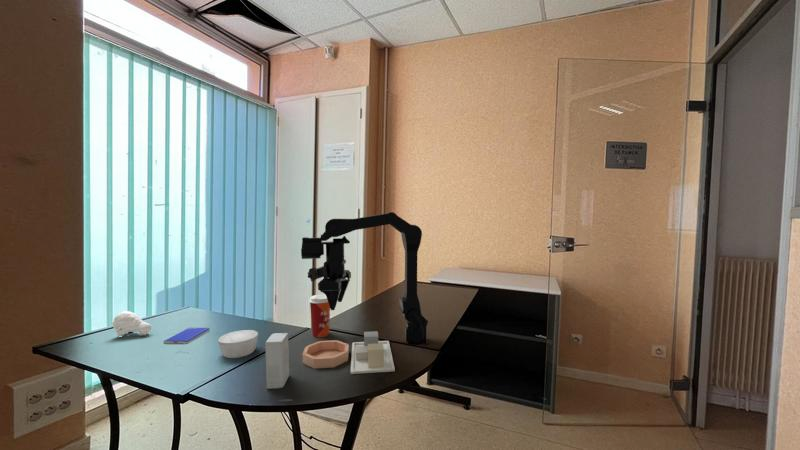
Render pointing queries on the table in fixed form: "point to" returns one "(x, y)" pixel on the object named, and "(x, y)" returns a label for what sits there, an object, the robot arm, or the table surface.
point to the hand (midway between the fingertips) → (336, 305)
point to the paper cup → (320, 315)
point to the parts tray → (362, 365)
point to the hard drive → (187, 335)
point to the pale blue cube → (370, 338)
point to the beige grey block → (361, 353)
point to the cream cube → (375, 355)
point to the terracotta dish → (326, 354)
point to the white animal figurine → (130, 324)
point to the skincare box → (277, 360)
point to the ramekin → (238, 343)
